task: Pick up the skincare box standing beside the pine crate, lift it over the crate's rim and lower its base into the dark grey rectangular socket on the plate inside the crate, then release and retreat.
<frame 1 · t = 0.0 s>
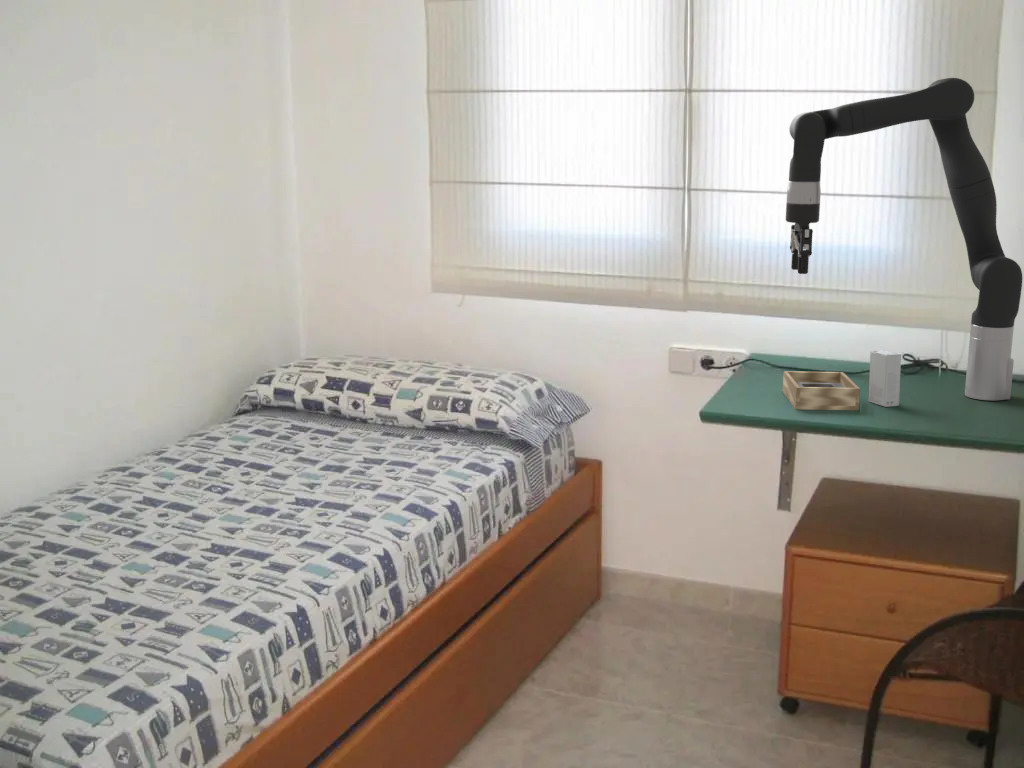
hand: (799, 271, 261), 29 cm above the table, fingers open, 8 cm apart
crate: (819, 400, 261), on the table
skincare box: (882, 404, 258), on the table
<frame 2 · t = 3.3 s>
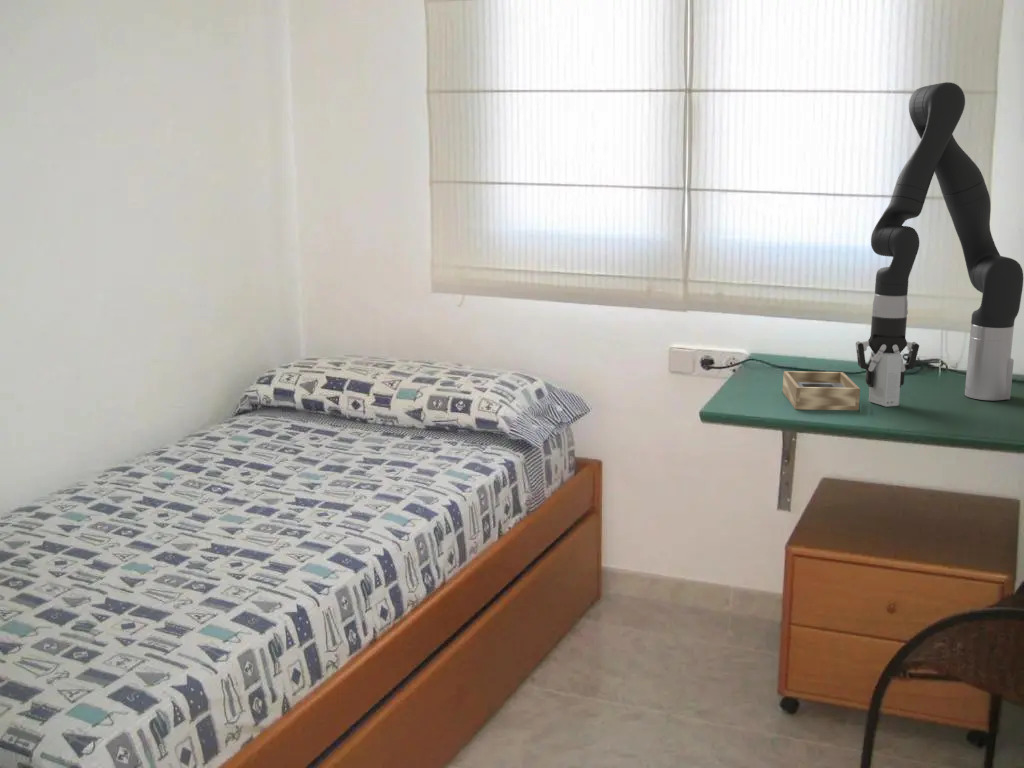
hand: (884, 386, 257), 4 cm above the table, fingers closed on skincare box, 5 cm apart
skincare box: (882, 404, 258), on the table, touching gripper
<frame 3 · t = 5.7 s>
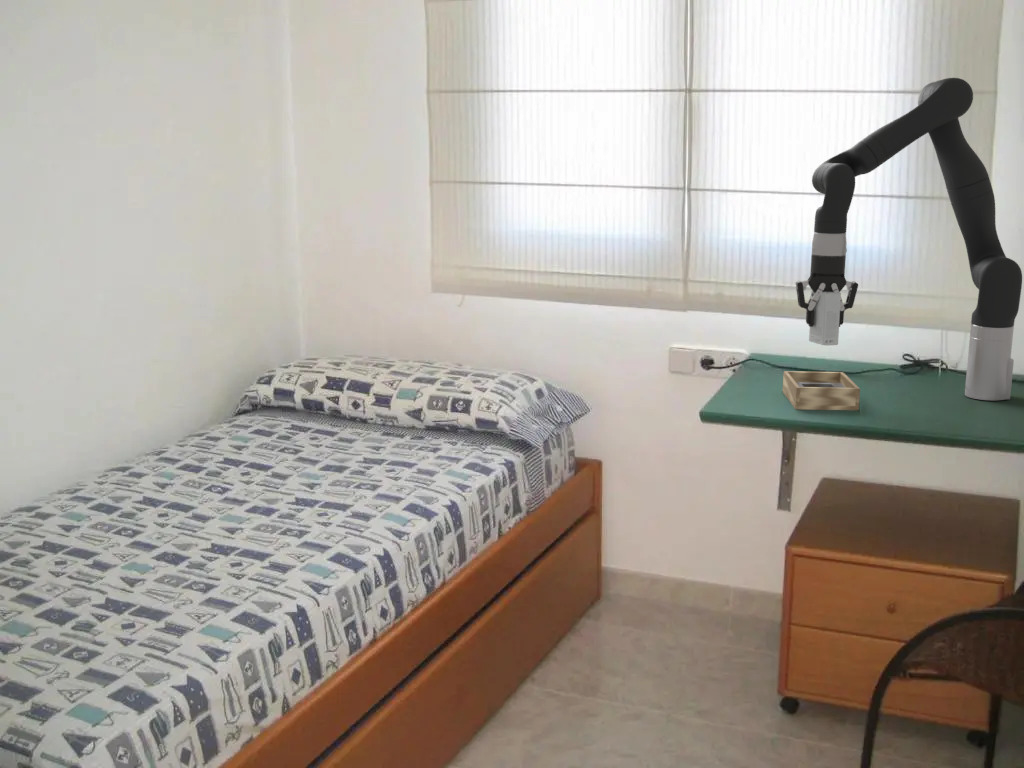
hand: (824, 326, 257), 18 cm above the table, fingers closed on skincare box, 5 cm apart
skincare box: (822, 344, 258), point 13 cm above the table, touching gripper
when the fingers open (5 cm above the table, at t = 8.5 s): skincare box stays where it is, resting on crate.
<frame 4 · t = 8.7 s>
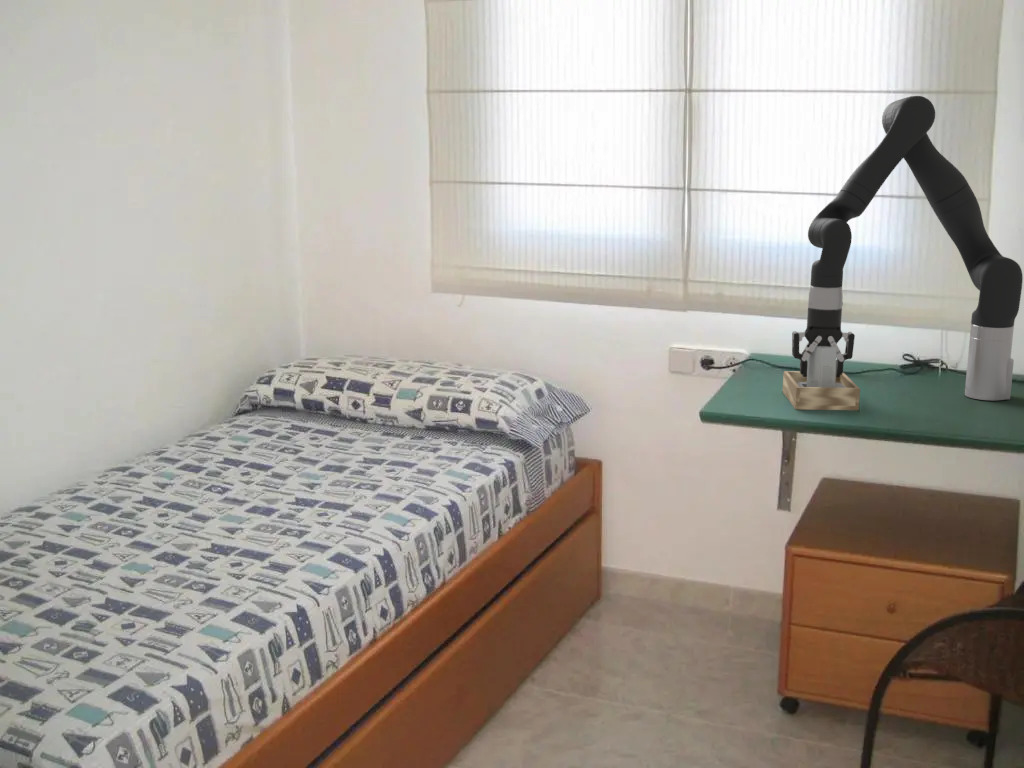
hand: (820, 376, 260), 6 cm above the table, fingers open, 7 cm apart
skincare box: (819, 397, 261), point 1 cm above the table, touching crate
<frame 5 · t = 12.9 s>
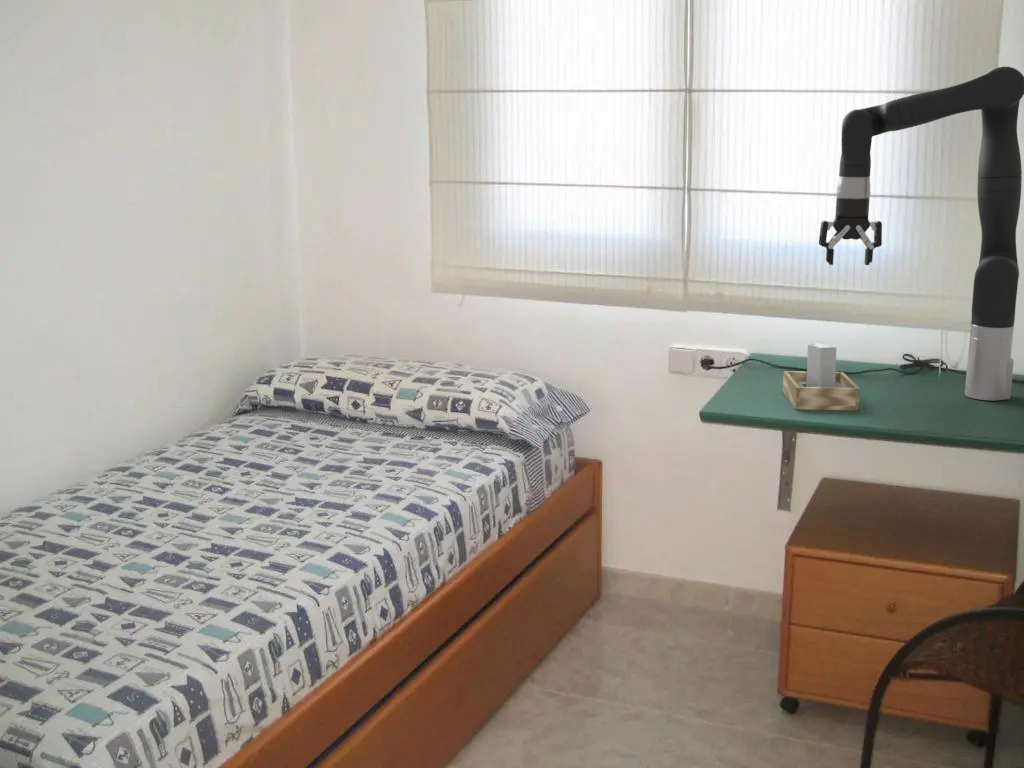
hand: (848, 264, 268), 30 cm above the table, fingers open, 8 cm apart
nothing on the table moved.
at the end: skincare box inside the target area on the crate (0.1 cm from its centre), point 0.8 cm above the crate's base; skincare box tilted 0°; the gripper is holding nothing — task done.
